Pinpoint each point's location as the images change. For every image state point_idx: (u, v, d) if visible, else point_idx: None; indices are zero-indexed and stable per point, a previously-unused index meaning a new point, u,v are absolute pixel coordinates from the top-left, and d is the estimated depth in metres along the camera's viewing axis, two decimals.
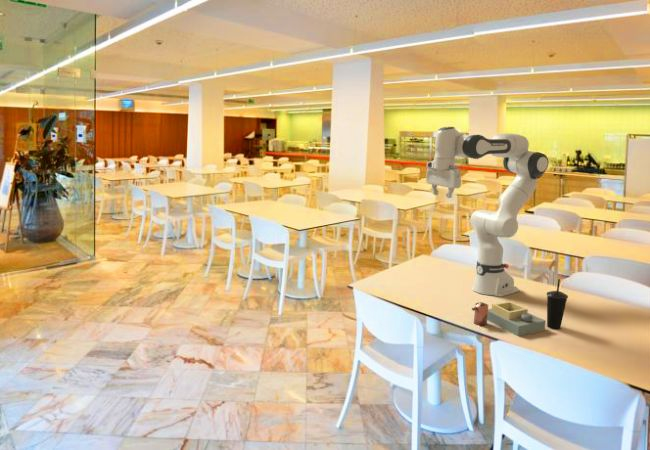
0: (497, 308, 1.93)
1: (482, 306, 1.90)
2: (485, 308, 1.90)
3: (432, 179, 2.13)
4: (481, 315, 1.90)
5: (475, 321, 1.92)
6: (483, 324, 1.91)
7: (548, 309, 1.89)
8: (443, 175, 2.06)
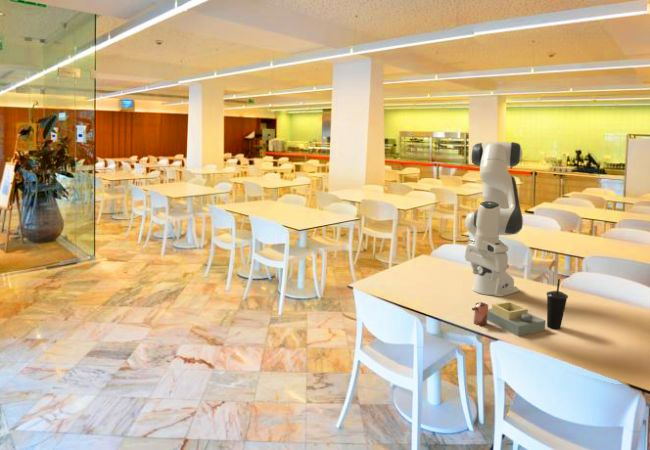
0: (497, 308, 1.93)
1: (482, 306, 1.90)
2: (485, 308, 1.90)
3: None
4: (481, 315, 1.90)
5: (475, 321, 1.92)
6: (483, 324, 1.91)
7: (548, 309, 1.89)
8: None
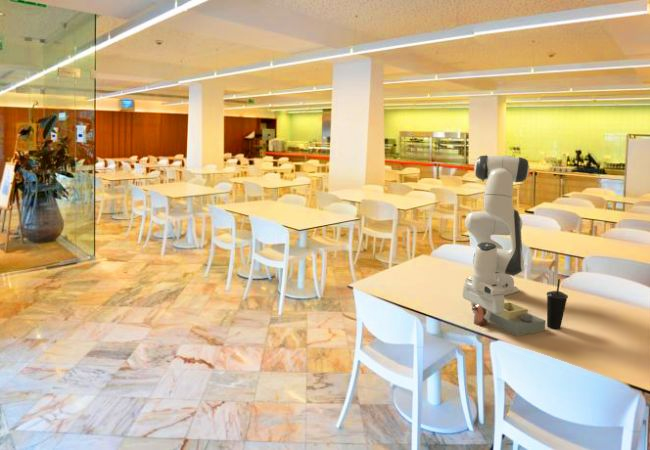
0: None
1: None
2: None
3: None
4: (481, 315, 1.90)
5: (475, 321, 1.92)
6: (483, 324, 1.91)
7: (548, 309, 1.89)
8: None
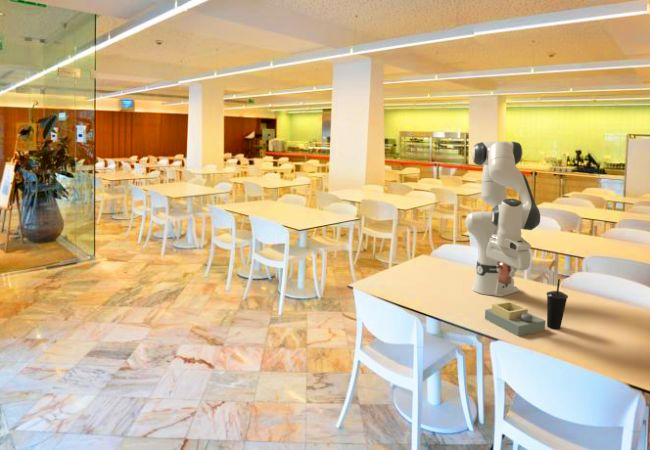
0: (497, 308, 1.93)
1: None
2: (510, 266, 1.87)
3: None
4: (505, 272, 1.88)
5: (499, 279, 1.90)
6: (507, 282, 1.88)
7: (548, 309, 1.89)
8: None
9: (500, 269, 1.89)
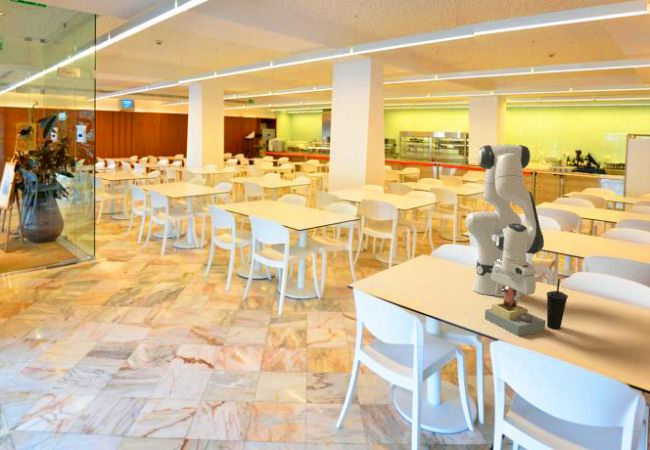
0: (497, 308, 1.93)
1: None
2: (515, 290, 1.89)
3: None
4: (511, 296, 1.89)
5: (505, 303, 1.92)
6: (513, 306, 1.90)
7: (548, 309, 1.89)
8: None
9: (506, 293, 1.91)
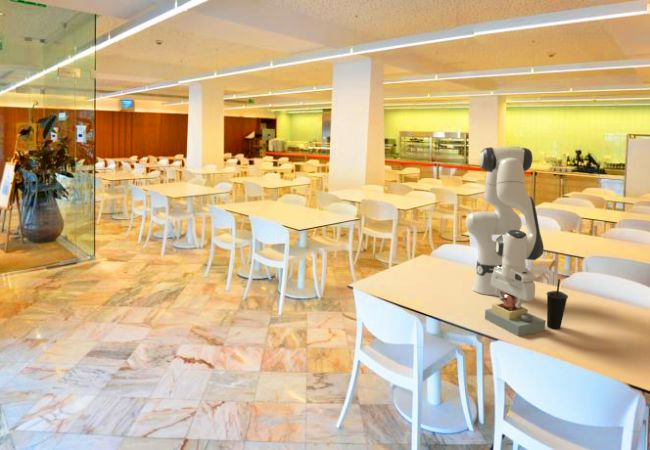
0: (497, 308, 1.93)
1: (511, 296, 1.90)
2: (514, 298, 1.90)
3: None
4: (510, 304, 1.90)
5: None
6: None
7: (548, 309, 1.89)
8: None
9: (505, 301, 1.92)
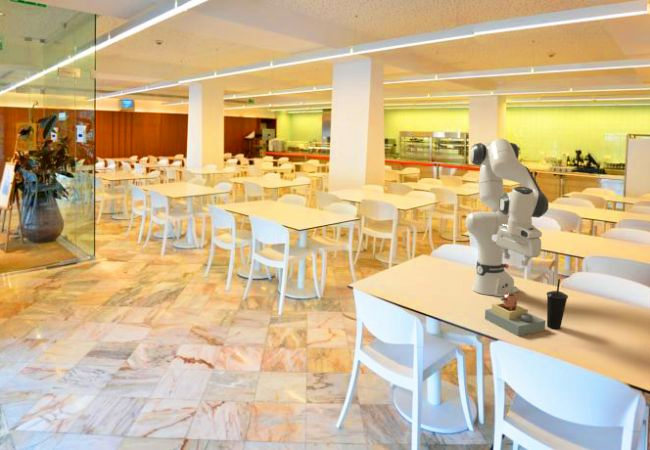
0: (497, 308, 1.93)
1: (511, 296, 1.90)
2: (514, 298, 1.90)
3: None
4: (510, 305, 1.90)
5: None
6: None
7: (548, 309, 1.89)
8: None
9: (505, 301, 1.92)
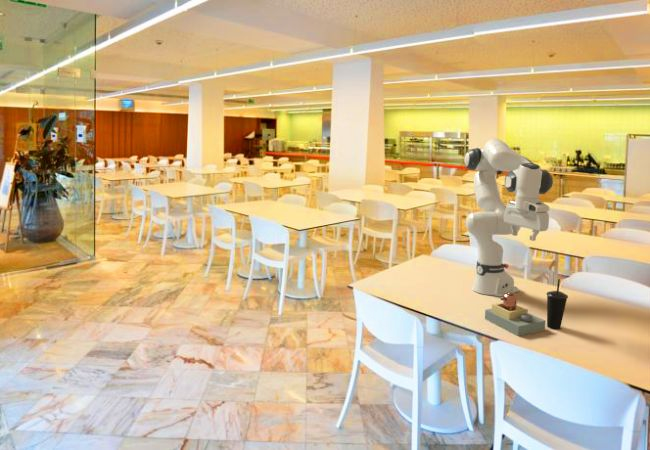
0: (497, 308, 1.93)
1: (511, 296, 1.90)
2: (514, 298, 1.90)
3: None
4: (510, 304, 1.90)
5: None
6: None
7: (548, 309, 1.89)
8: None
9: (504, 301, 1.92)
